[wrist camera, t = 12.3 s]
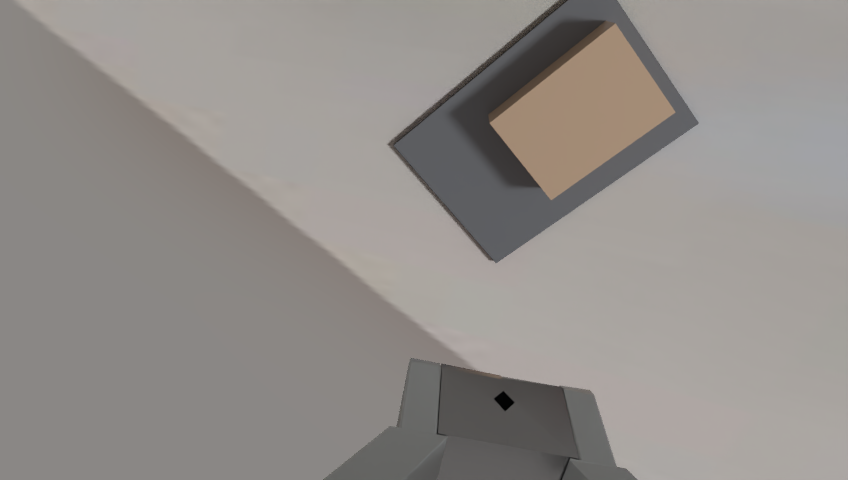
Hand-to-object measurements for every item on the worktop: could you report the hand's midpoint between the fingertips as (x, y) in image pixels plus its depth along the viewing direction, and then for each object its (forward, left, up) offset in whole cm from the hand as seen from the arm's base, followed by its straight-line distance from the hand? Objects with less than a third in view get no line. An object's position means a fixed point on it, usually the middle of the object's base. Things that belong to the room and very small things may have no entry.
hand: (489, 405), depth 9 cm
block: (+5, -6, -37) cm, 38 cm away
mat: (+7, -4, -39) cm, 40 cm away
